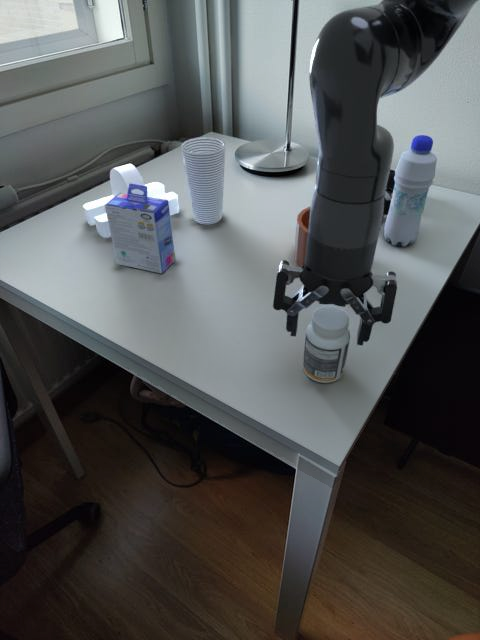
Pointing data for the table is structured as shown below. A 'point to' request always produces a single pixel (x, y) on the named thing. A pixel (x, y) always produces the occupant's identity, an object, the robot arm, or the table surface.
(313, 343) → the pill bottle
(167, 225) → the ink cartridge box
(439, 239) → the table surface
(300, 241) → the crock
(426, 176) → the bottle
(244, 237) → the table surface
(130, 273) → the table surface
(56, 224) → the table surface
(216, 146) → the cup
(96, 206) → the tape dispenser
